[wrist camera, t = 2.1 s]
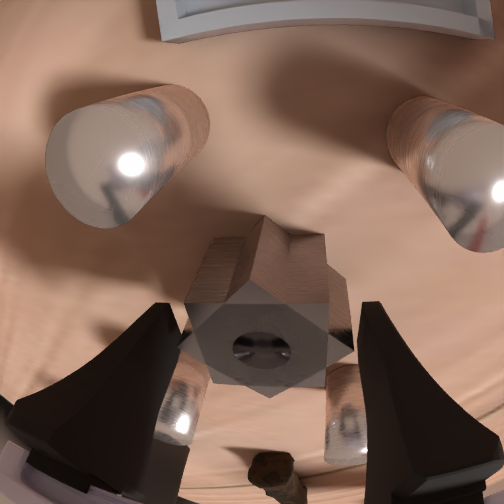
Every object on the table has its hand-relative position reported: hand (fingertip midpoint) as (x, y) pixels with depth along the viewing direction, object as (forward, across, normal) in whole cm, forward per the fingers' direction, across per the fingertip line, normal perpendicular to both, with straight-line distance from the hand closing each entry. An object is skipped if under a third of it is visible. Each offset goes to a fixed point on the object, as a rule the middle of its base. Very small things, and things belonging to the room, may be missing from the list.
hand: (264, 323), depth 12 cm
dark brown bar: (+3, 0, +29) cm, 29 cm away
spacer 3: (+2, -4, +8) cm, 9 cm away
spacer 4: (+2, -6, -6) cm, 9 cm away
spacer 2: (+3, +5, +6) cm, 8 cm away
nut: (+3, 0, 0) cm, 3 cm away
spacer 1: (+2, +3, -7) cm, 8 cm away
